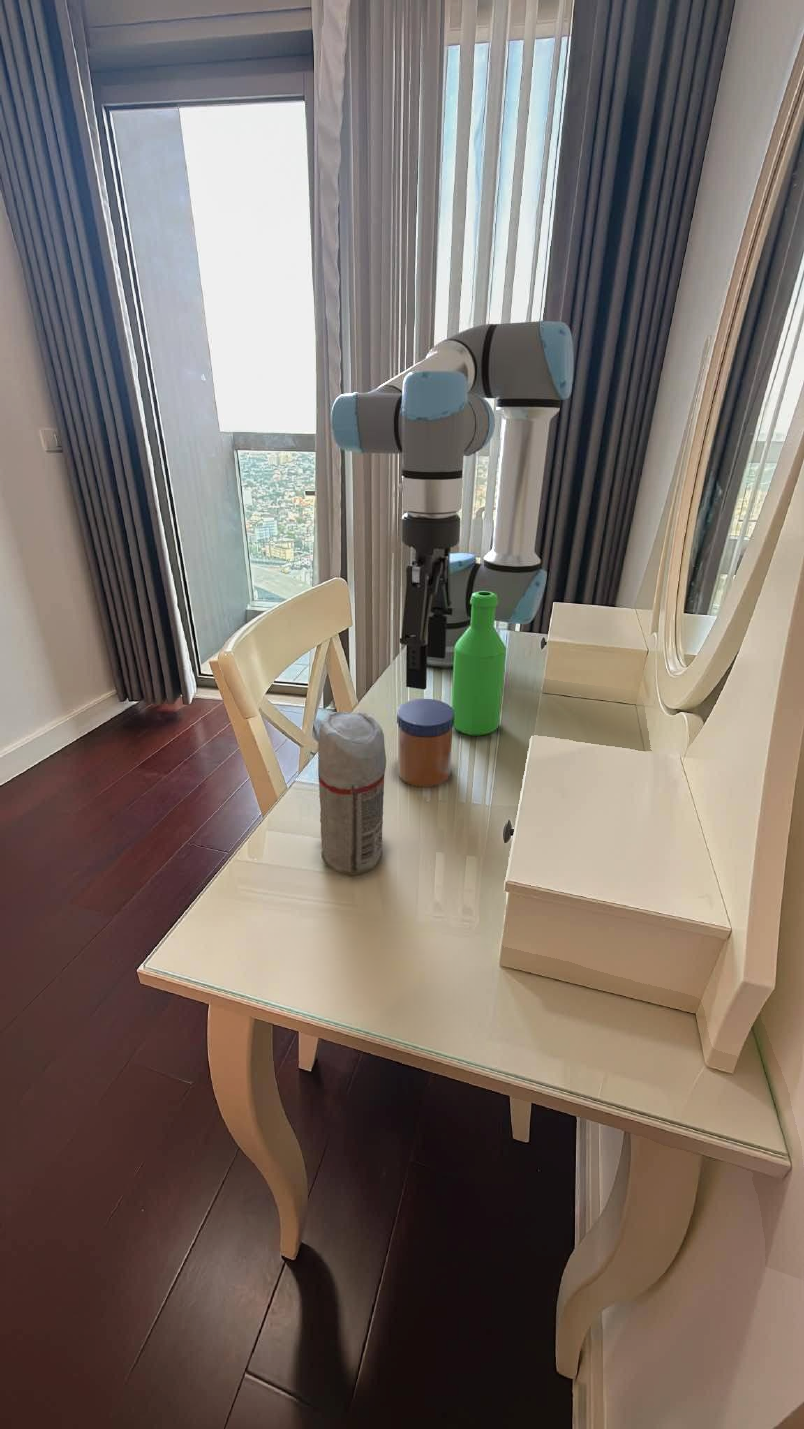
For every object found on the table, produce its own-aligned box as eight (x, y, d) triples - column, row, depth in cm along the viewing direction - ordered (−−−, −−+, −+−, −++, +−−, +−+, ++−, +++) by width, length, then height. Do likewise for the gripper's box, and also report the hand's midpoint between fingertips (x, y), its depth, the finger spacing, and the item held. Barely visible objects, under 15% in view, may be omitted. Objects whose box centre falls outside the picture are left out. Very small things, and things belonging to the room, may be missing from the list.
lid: (406, 705, 91) (406, 695, 90) (459, 713, 89) (459, 703, 88) (389, 731, 84) (389, 720, 83) (446, 741, 82) (447, 729, 81)
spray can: (357, 824, 80) (351, 698, 70) (397, 853, 75) (398, 721, 65) (308, 853, 74) (295, 721, 65) (348, 886, 69) (340, 749, 60)
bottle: (497, 716, 107) (510, 587, 95) (499, 739, 100) (514, 602, 88) (450, 713, 108) (457, 585, 96) (449, 737, 101) (457, 600, 88)
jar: (406, 754, 96) (407, 698, 91) (455, 762, 93) (458, 706, 88) (391, 781, 89) (390, 723, 83) (443, 791, 86) (446, 732, 81)
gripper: (426, 498, 82) (422, 640, 93) (372, 527, 63) (376, 702, 74) (476, 501, 80) (467, 645, 91) (437, 531, 61) (431, 710, 72)
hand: (426, 671), depth 82 cm, fingers open, 10 cm apart
